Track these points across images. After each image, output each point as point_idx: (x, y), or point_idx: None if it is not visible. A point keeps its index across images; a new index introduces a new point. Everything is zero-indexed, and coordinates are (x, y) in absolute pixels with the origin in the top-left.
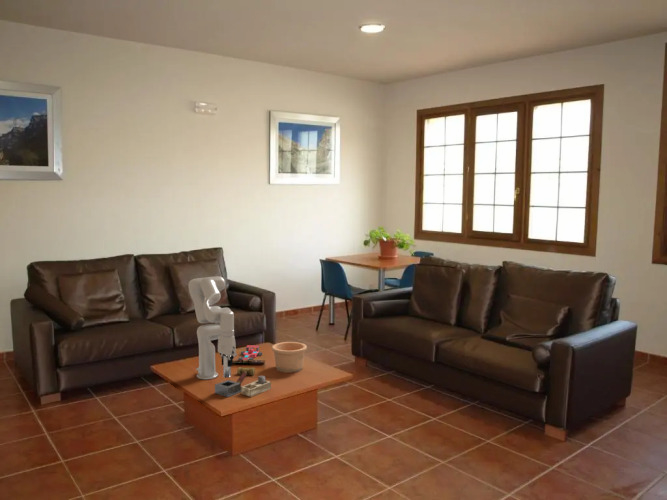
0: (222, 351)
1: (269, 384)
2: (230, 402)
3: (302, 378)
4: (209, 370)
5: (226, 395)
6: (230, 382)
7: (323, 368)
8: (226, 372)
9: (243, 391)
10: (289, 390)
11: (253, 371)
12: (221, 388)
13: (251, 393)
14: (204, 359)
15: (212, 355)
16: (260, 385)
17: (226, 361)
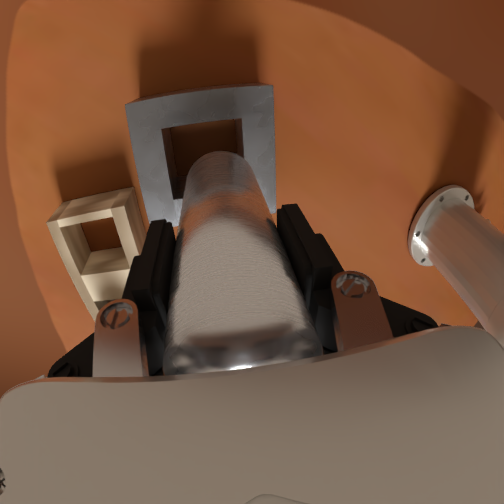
0: (313, 438)
1: None
2: (64, 72)
3: None
4: (446, 234)
5: (148, 96)
6: None
7: None
8: (194, 178)
9: (108, 198)
10: (64, 338)
11: None
12: (195, 90)
13: (55, 212)
14: (499, 252)
15: (482, 299)
16: (82, 290)
17: (188, 259)
